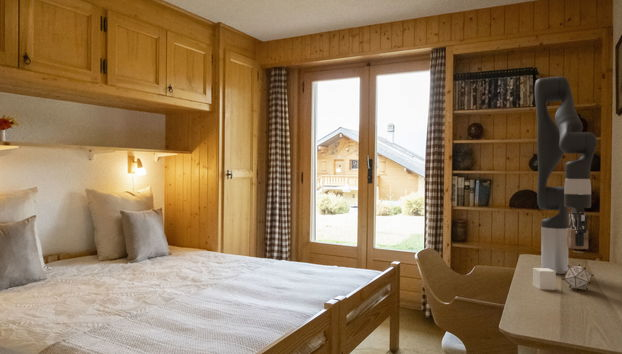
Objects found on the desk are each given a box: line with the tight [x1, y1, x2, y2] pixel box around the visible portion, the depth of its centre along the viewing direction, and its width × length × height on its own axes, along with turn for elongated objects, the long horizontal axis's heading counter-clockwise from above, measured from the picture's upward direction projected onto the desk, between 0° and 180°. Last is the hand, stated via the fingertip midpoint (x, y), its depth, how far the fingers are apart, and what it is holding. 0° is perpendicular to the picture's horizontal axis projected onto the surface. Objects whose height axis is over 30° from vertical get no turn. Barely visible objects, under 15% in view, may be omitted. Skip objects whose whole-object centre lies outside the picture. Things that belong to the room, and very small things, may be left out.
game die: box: [561, 263, 595, 292], centre depth 142 cm, size 9×8×10 cm
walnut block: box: [567, 227, 589, 250], centre depth 142 cm, size 5×5×6 cm
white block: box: [532, 267, 557, 291], centre depth 144 cm, size 5×5×6 cm
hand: (577, 244), depth 142 cm, fingers closed on walnut block, 5 cm apart
